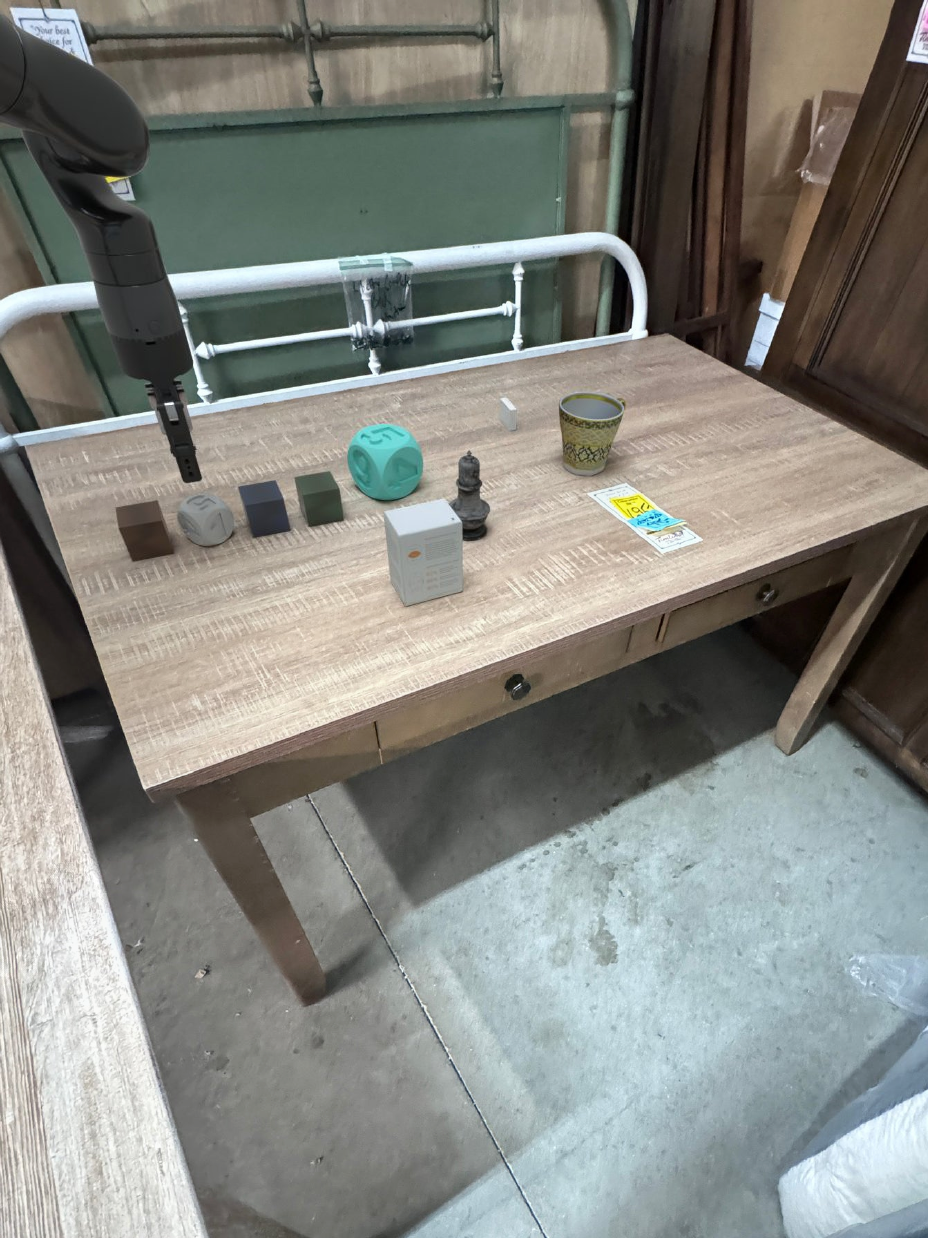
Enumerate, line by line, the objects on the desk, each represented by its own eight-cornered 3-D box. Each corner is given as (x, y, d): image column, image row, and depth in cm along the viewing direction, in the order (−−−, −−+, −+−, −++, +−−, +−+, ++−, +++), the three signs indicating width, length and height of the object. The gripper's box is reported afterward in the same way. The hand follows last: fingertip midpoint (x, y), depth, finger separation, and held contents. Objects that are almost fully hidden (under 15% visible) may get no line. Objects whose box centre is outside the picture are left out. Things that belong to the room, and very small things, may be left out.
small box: (447, 567, 90) (445, 496, 83) (464, 592, 87) (464, 520, 79) (389, 581, 88) (382, 509, 80) (404, 607, 84) (398, 535, 77)
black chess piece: (458, 545, 94) (457, 465, 85) (441, 523, 97) (439, 444, 89) (496, 536, 96) (499, 456, 87) (478, 515, 99) (480, 436, 91)
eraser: (505, 417, 122) (506, 397, 119) (515, 430, 119) (517, 409, 116) (499, 418, 121) (499, 397, 119) (509, 431, 118) (510, 410, 116)
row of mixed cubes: (132, 561, 87) (118, 527, 84) (129, 540, 91) (115, 507, 87) (344, 519, 97) (339, 488, 93) (334, 502, 100) (329, 470, 96)
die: (209, 550, 90) (198, 517, 86) (183, 537, 92) (171, 504, 88) (238, 533, 93) (229, 500, 89) (212, 521, 95) (202, 488, 91)
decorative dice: (425, 487, 104) (423, 437, 98) (384, 506, 100) (379, 455, 94) (391, 467, 107) (387, 418, 101) (349, 485, 103) (342, 434, 97)
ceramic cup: (583, 488, 106) (592, 426, 99) (540, 462, 111) (545, 401, 104) (638, 464, 113) (650, 404, 105) (595, 440, 118) (604, 381, 110)
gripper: (102, 304, 76) (149, 443, 88) (110, 351, 68) (162, 498, 79) (174, 299, 79) (211, 434, 90) (191, 343, 70) (229, 487, 82)
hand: (188, 464), depth 85 cm, fingers open, 8 cm apart
